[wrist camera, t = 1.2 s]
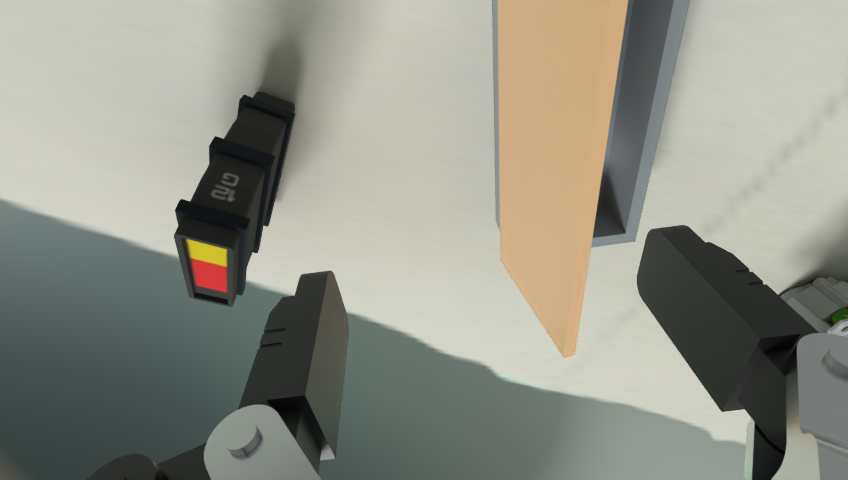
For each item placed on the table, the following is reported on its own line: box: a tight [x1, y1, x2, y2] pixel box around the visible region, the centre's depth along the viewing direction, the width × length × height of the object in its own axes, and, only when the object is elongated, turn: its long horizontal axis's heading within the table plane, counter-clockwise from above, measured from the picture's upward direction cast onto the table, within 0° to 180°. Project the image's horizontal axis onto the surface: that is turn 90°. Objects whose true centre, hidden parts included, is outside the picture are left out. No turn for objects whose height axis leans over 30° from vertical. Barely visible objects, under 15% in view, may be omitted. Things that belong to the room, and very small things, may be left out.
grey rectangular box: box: [492, 0, 690, 247], centre depth 32 cm, size 22×11×6 cm, turn 7°
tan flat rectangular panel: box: [498, 0, 628, 358], centre depth 26 cm, size 22×11×1 cm
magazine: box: [174, 92, 295, 307], centre depth 32 cm, size 4×13×15 cm, turn 157°
